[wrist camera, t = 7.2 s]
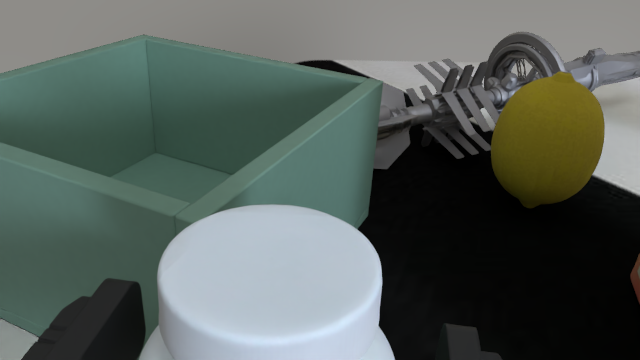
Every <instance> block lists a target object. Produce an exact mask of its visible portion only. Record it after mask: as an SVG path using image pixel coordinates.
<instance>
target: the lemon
mask: <svg viewBox="0 0 640 360" xmlns="http://www.w3.org/2000/svg"><path fill="white" fill-rule="evenodd" d="M603 143H604V117H603V112H602V109H601V106H600V104H599V102H598V100H597V99H596V97H595V96H594V95H593V94H592V93H591V92H590V91H589V90H588V89H587V88H586V87H585V86H583V85H582V84H580V83H579V82H577V81H575V80H574V78H573V76H572V74H570V73H568V72H557V73H556V74H554V75H553V76H551V77H545V78H540V79H537V80H535V81H532V82H530V83H528V84H526V85H524V86H523V87H521V88H520V89H519V90H517V91H516V92H515V93H514V94H513V95H512V97H511V98H510V99H509V101H508V102H507V103H506V105H505V107H504V108H503V110H502V112H501V114H500V116H499V118H498V120H497V123H496V126H495V129H494V132H493V136H492V143H491V160H492V167H493V170H494V173H495V176H496V177H497V179H498V181H499V182H500V184H501V185H502V186H503V188H504V189H505V190H506V191H508V192H509V193H510V194H511V195H513V196H514V197H516V198H518V199H519V201H520V202H521V204H522V205H523V206H524V207H526V208H534V207H536V206H538V205H540V204H553V203H557V202H561V201H563V200H566V199H567V198H569V197H571V196H572V195H574V194H576V193H577V192H578V191H580V190H581V189H582V188H583V187H584V186H585V184H586V183H587V182H588V180H589V179H590V177H591V175H592V174H593V172H594V170H595V168H596V166H597V164H598V162H599V159H600V156H601V153H602V148H603Z"/></svg>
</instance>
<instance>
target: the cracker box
mask: <svg viewBox="0 0 640 360" xmlns="http://www.w3.org/2000/svg"><path fill="white" fill-rule="evenodd" d="M630 277H631V281H632V284H633V287H634V290H635V293H636V296H637V299H638V301H639V304H640V254H639V256H638V258H637V261H636V263H635V266H634V268H633V270H632V272H631V275H630Z"/></svg>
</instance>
